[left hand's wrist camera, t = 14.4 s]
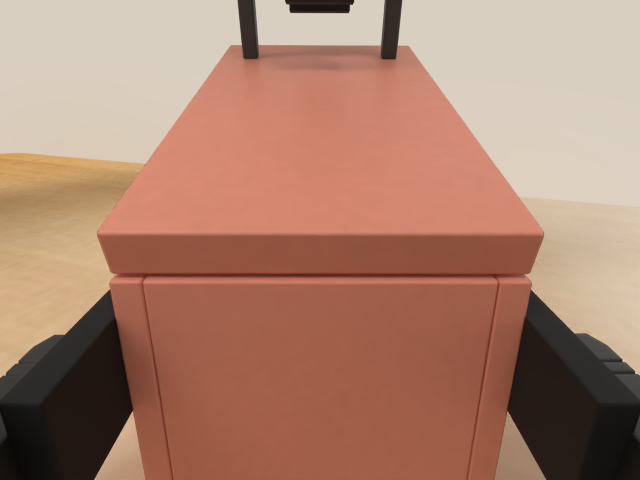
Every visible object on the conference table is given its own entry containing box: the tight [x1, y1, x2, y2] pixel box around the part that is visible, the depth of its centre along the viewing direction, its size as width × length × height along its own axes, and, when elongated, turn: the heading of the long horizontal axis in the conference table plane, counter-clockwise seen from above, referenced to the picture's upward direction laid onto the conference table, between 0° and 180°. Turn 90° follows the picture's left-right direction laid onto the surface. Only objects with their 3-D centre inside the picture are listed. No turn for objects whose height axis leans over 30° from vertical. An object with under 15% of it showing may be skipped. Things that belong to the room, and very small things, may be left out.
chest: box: [109, 274, 532, 480], centre depth 19 cm, size 17×10×9 cm, turn 0°
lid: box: [97, 0, 544, 274], centre depth 14 cm, size 17×10×9 cm, turn 0°
